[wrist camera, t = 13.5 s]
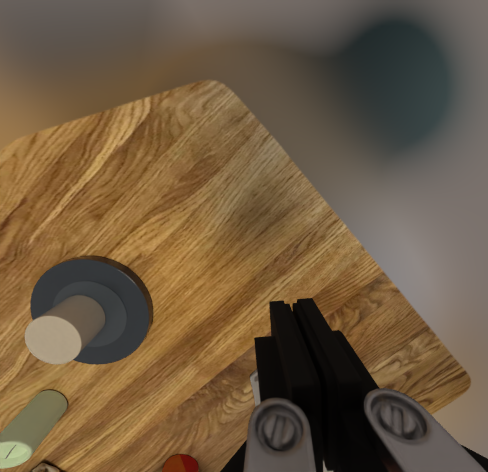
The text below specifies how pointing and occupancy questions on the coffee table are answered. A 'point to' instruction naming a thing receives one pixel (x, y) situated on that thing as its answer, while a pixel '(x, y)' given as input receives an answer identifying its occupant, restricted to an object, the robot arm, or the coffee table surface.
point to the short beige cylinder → (65, 329)
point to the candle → (30, 428)
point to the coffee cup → (180, 464)
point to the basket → (41, 471)
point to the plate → (107, 295)
